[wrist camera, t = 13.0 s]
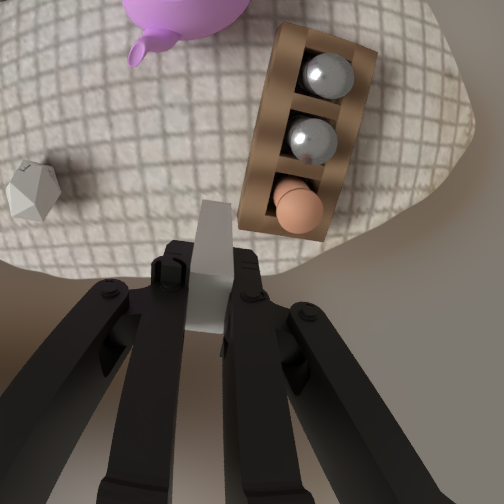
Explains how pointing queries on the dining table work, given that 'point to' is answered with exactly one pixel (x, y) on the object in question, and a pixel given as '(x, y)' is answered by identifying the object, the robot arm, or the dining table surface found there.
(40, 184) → the die
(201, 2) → the teapot
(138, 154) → the dining table surface
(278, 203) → the peach plug
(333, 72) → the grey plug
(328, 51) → the wooden compartment tray
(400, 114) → the dining table surface
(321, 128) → the grey plug mid
